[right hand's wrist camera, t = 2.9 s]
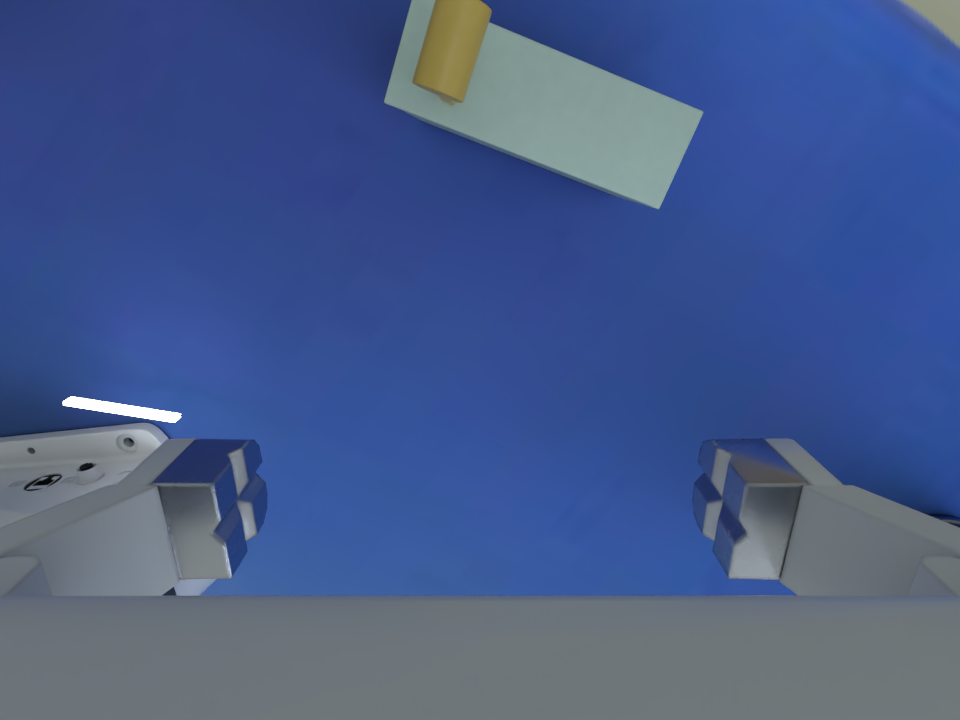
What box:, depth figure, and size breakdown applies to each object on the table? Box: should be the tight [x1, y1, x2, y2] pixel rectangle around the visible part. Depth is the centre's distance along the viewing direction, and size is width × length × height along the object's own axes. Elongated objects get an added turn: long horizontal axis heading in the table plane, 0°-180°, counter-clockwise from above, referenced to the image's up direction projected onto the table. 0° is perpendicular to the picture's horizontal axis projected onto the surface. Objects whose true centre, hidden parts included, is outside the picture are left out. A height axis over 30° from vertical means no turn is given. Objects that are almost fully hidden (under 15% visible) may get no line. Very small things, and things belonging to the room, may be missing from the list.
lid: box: [384, 0, 703, 209], centre depth 24 cm, size 15×5×8 cm, turn 70°
